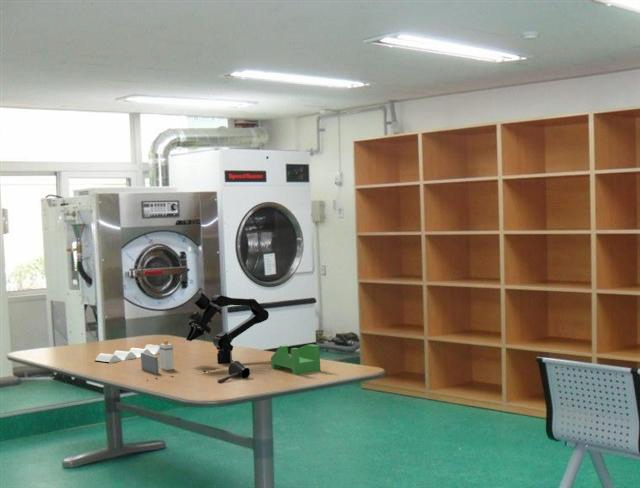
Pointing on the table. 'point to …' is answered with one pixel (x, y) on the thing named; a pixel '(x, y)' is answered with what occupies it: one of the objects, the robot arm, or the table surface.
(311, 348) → the green cradle stand
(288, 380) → the table surface
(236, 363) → the coffee pot
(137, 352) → the white zigzag rack
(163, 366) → the block
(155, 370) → the grey block
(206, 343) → the table surface
